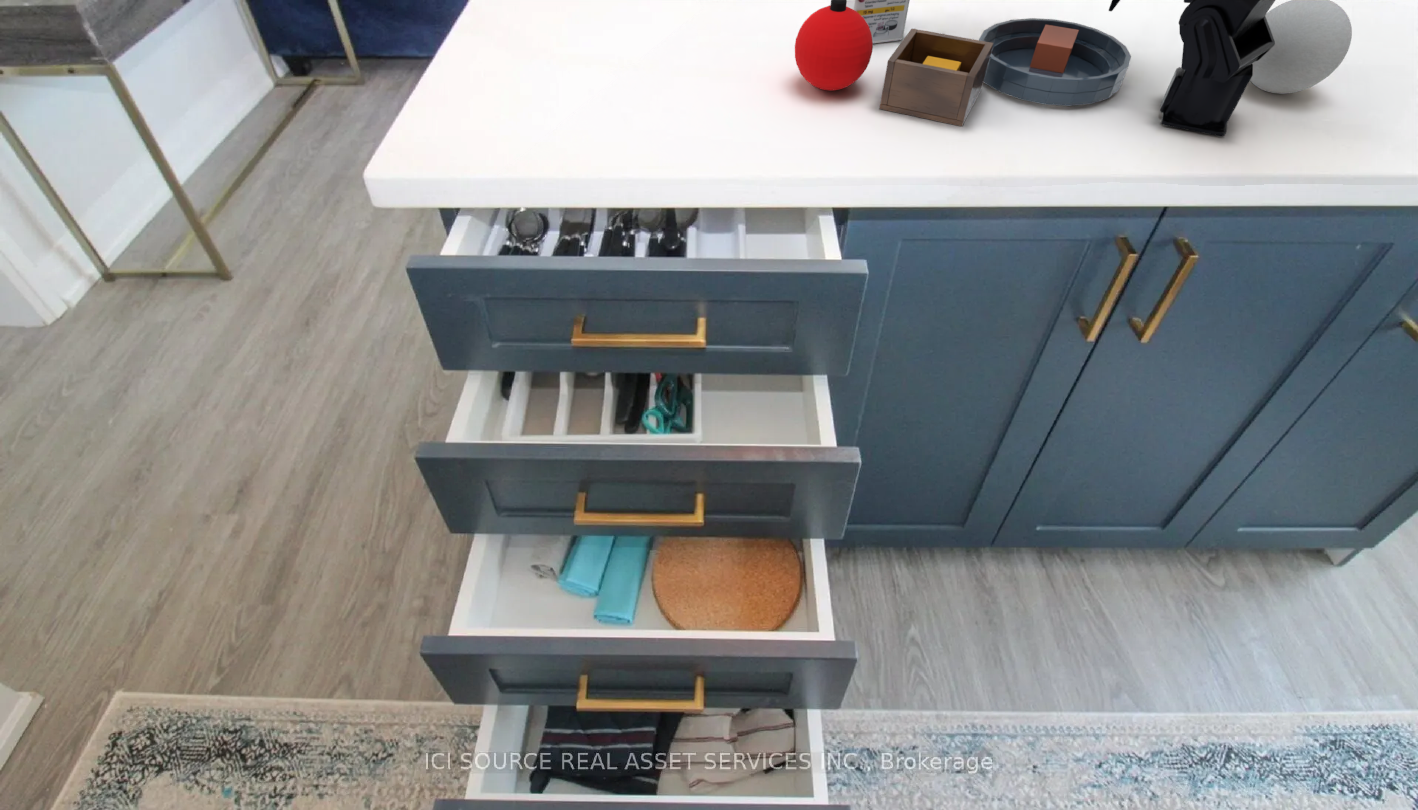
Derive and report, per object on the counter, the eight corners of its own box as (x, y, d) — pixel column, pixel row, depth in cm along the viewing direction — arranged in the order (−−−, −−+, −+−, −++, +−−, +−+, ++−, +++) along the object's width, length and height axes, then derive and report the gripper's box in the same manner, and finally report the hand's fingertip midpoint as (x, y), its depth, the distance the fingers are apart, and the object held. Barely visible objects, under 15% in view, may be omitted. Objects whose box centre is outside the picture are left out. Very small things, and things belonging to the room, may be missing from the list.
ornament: (882, 90, 90) (897, 1, 83) (825, 111, 87) (836, 21, 79) (831, 63, 95) (842, -23, 88) (776, 83, 92) (782, -5, 84)
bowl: (1125, 61, 95) (1137, 33, 93) (1109, 122, 85) (1122, 91, 82) (988, 37, 100) (995, 9, 98) (958, 91, 90) (965, 62, 87)
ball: (1241, 63, 95) (1286, -24, 87) (1329, 88, 90) (1384, -1, 83) (1211, 89, 90) (1257, 0, 82) (1302, 118, 85) (1359, 26, 78)
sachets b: (1070, 54, 95) (1078, 29, 93) (1063, 73, 92) (1071, 48, 90) (1037, 48, 97) (1045, 24, 94) (1029, 67, 93) (1037, 42, 91)
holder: (980, 90, 90) (993, 42, 86) (962, 126, 84) (975, 77, 80) (902, 75, 93) (911, 28, 89) (879, 109, 87) (887, 60, 83)
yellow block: (955, 87, 89) (961, 62, 87) (942, 109, 86) (949, 83, 84) (922, 80, 91) (927, 55, 88) (908, 102, 87) (913, 76, 85)
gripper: (1223, -166, 80) (1158, -7, 91) (1041, -181, 85) (1002, -30, 97) (1221, -141, 73) (1151, 26, 85) (1024, -160, 78) (984, 0, 90)
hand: (1069, 3), depth 89 cm, fingers open, 9 cm apart
